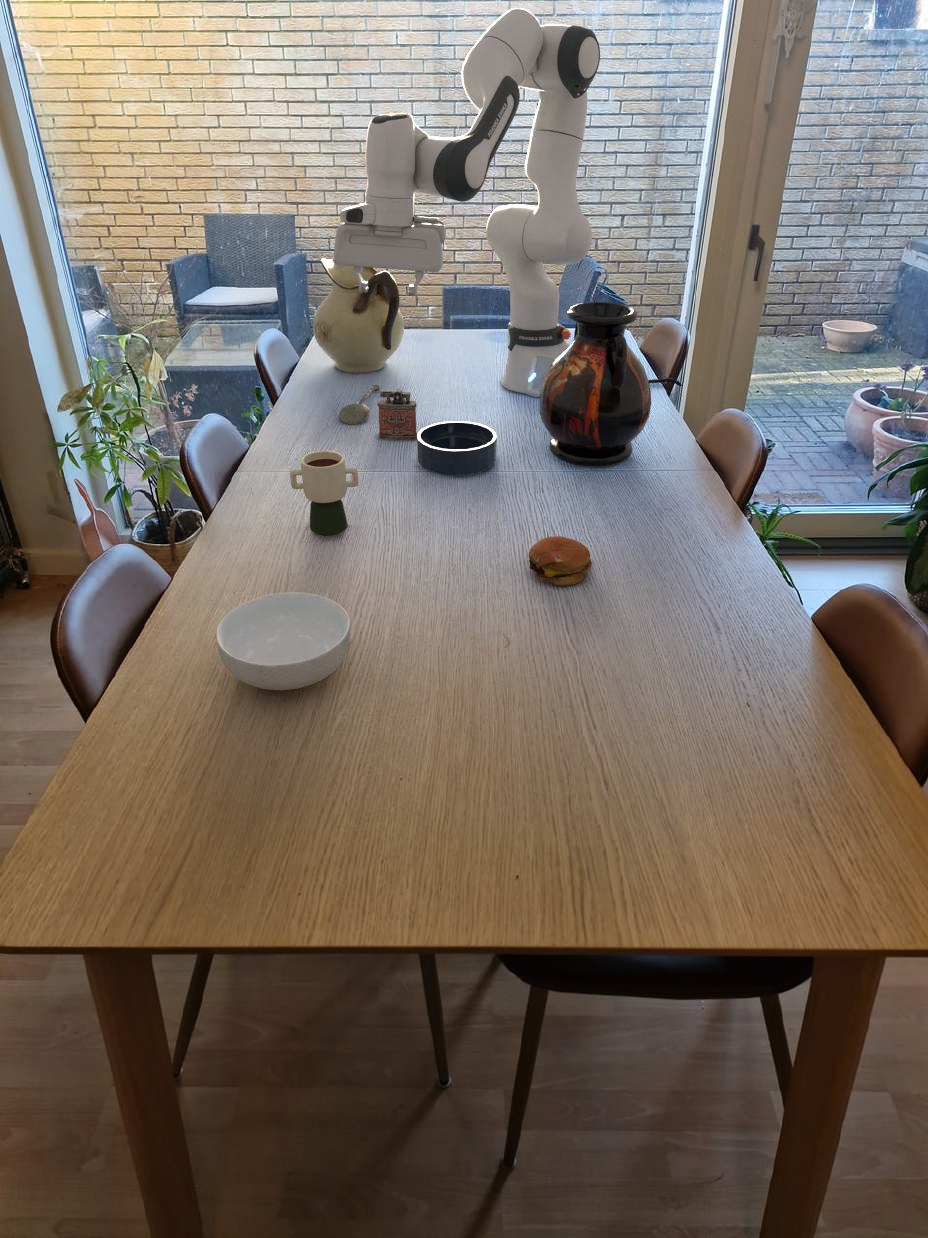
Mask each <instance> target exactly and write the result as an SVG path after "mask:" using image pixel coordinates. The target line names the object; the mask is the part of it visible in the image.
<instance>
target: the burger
mask: <svg viewBox="0 0 928 1238" xmlns="http://www.w3.org/2000/svg"><path fill="white" fill-rule="evenodd" d="M527 557H528V563H529V566H528V567H529V568H528V569H529V570H532V573H533V574H534V576H535V577H536V578H538V579H539V580H541V581H542V582H550V583H552V584H553V585H555V586H557V587H566V586H567V587H568V586H574V585H575V584H576V585H577V584H579V583H581V582H583V581H584V579H586V577H587V576H588V573H589V572H590V569H592V567H593V562H592V559H591V552H590V550H589V548H588V547H587V546H586V545H585V544H583V543H582V542H581V541H579V540H577V539H573V538H570V537H566V536H563V535H553V536H546V537H543V538H541V539H539V540H538V541H537V542H535V543H534V544H533V545H532V546H531V547H530V549H529V552H528V555H527Z"/></svg>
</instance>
